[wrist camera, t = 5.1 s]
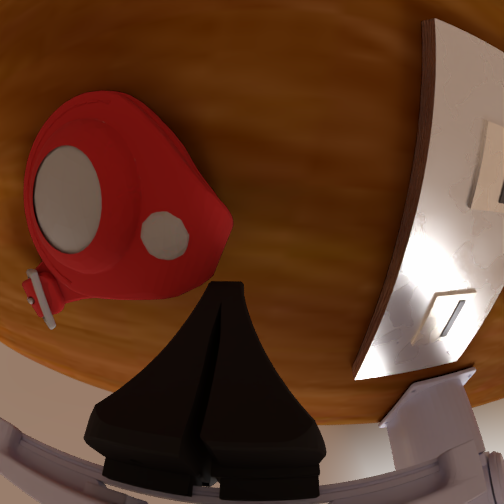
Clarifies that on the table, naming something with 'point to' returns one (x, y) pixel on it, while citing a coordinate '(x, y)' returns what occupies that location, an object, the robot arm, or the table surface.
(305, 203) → the table surface
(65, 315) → the table surface
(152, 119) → the tracker holder
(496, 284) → the white slotted plate
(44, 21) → the table surface
